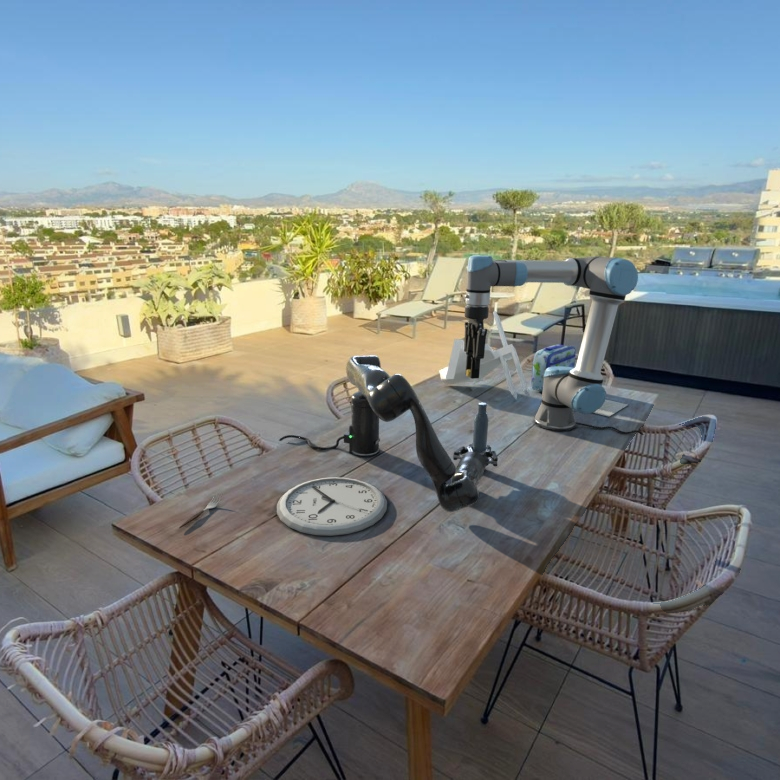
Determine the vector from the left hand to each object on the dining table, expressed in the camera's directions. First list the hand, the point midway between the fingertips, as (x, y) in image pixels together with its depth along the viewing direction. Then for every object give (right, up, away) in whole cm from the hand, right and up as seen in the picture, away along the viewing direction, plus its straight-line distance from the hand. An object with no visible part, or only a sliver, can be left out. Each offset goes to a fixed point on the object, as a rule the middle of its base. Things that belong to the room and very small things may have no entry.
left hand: (480, 446), depth 166 cm
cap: (-2, +24, +7) cm, 25 cm away
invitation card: (+63, +11, +60) cm, 88 cm away
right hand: (-2, +23, +7) cm, 24 cm away
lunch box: (+48, +18, +84) cm, 99 cm away
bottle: (-1, -7, 0) cm, 7 cm away
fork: (-78, -15, -29) cm, 85 cm away
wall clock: (-45, -13, -23) cm, 52 cm away
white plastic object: (+13, +17, +77) cm, 80 cm away
